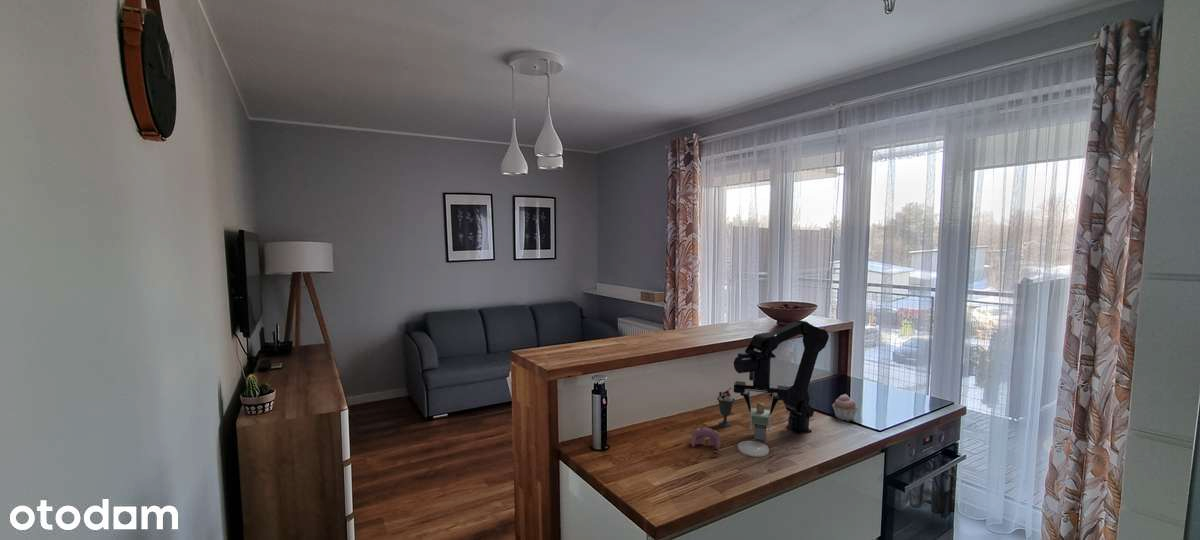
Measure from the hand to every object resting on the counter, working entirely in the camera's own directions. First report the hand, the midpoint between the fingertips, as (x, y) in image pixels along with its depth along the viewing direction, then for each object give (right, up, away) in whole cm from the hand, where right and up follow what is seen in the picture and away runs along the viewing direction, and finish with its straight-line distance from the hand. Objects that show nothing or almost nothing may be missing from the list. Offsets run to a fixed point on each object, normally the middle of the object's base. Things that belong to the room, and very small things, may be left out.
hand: (760, 412), depth 170 cm
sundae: (-10, -8, +12) cm, 17 cm away
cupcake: (+40, -8, +19) cm, 45 cm away
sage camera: (0, -5, 0) cm, 5 cm away
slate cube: (0, -9, +1) cm, 9 cm away
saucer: (-6, -10, -10) cm, 15 cm away
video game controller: (-21, -10, -7) cm, 24 cm away
